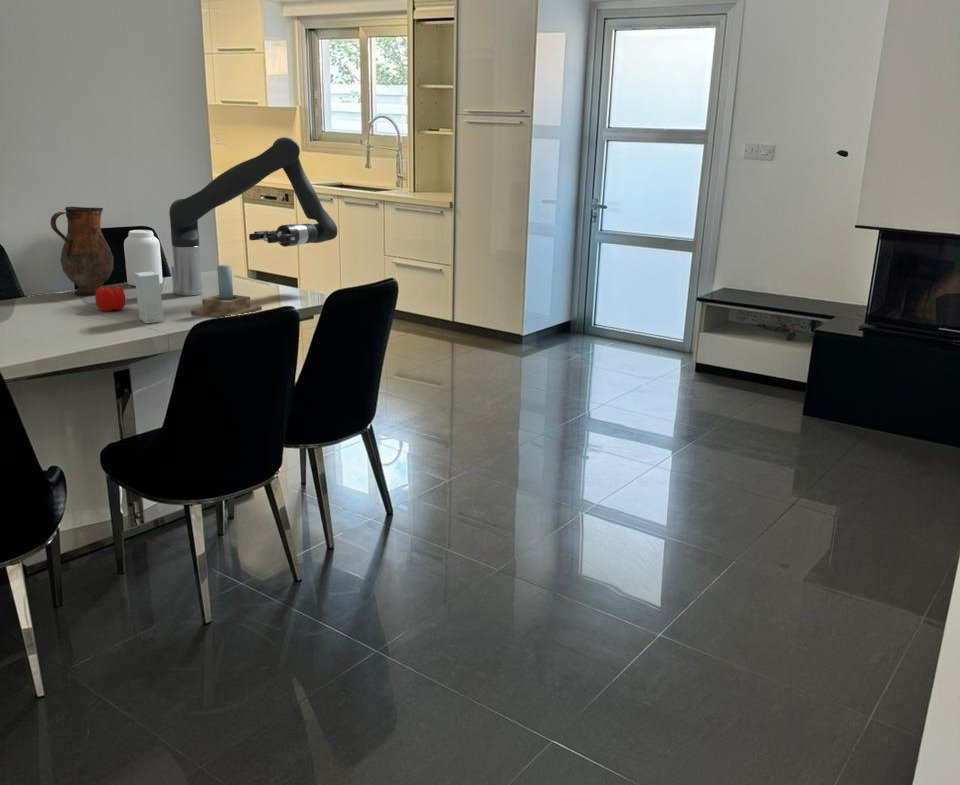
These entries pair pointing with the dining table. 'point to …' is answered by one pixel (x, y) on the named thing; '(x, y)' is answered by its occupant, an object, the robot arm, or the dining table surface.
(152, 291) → the skincare box
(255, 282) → the dining table surface
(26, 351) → the dining table surface
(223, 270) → the peg
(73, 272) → the pitcher
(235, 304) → the socket
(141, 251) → the white supplement bottle
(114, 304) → the red bell pepper
